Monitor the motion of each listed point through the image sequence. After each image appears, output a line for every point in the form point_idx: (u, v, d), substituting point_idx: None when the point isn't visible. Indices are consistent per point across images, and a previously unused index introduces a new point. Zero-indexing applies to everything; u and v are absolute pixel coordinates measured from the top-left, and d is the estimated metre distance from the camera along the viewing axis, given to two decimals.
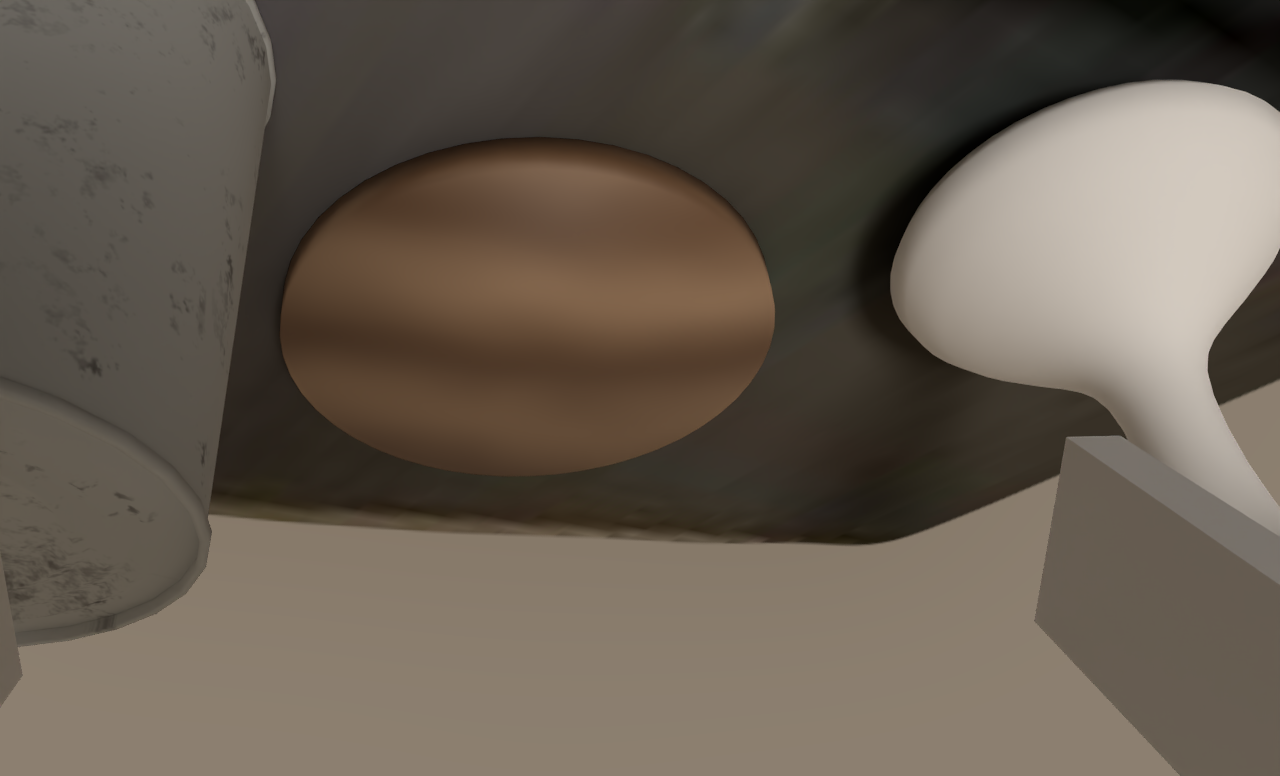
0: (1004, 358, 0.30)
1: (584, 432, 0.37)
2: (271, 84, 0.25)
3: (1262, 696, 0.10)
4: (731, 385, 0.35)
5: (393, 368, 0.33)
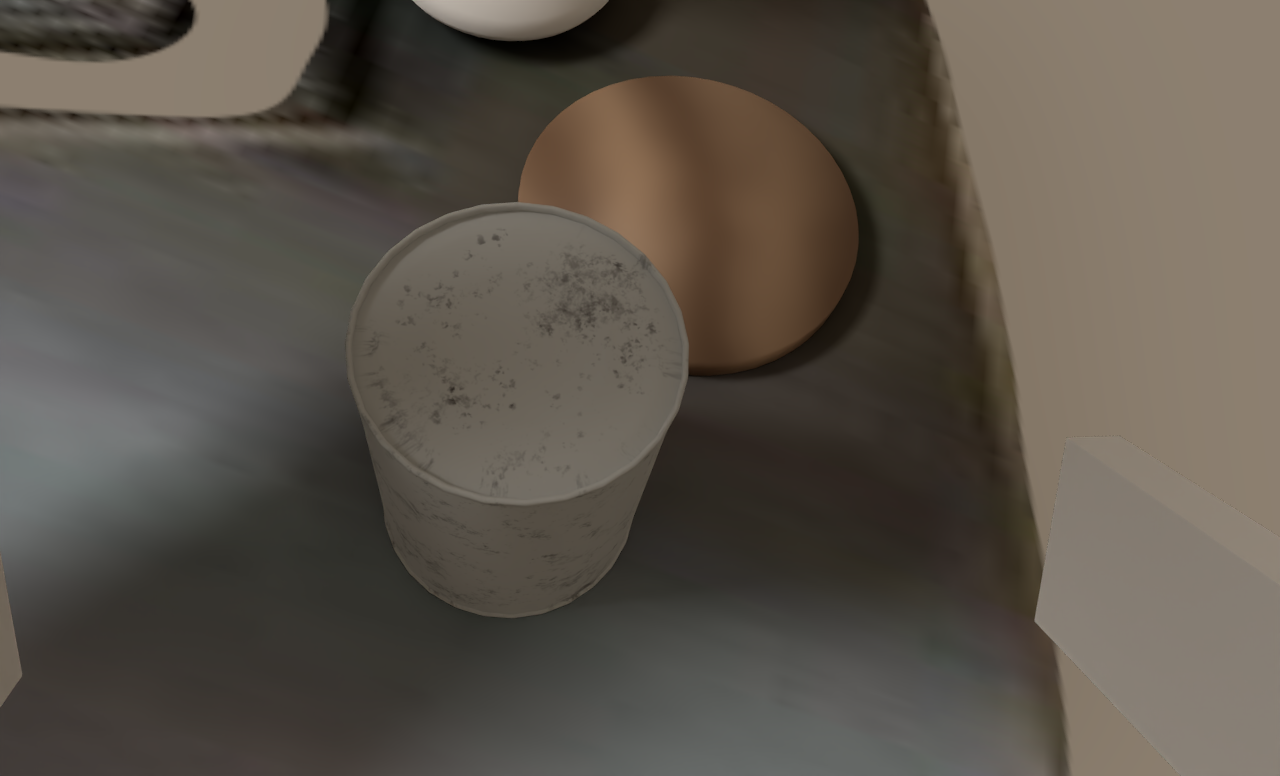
0: None
1: (780, 163, 0.48)
2: None
3: (1262, 696, 0.10)
4: (697, 87, 0.49)
5: (735, 291, 0.44)
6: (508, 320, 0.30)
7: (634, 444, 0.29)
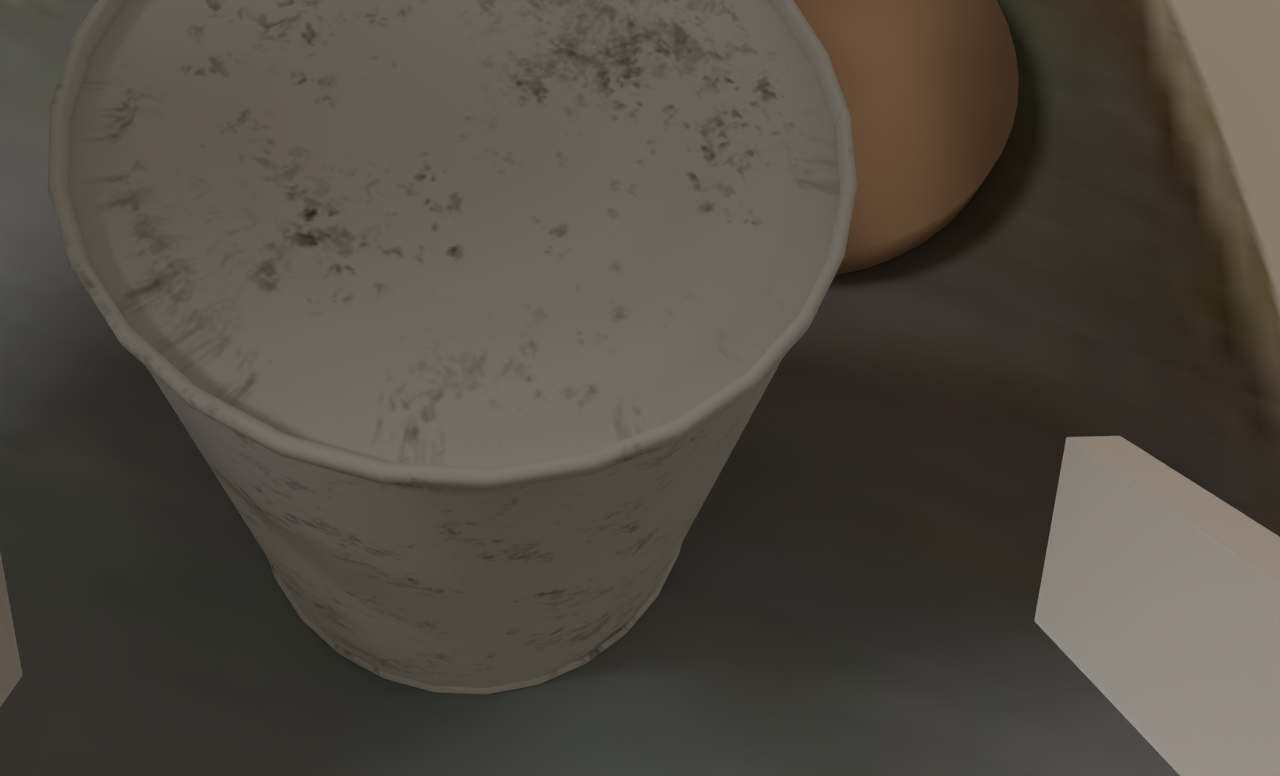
0: None
1: None
2: None
3: (1262, 696, 0.10)
4: None
5: None
6: (446, 70, 0.13)
7: (747, 335, 0.12)
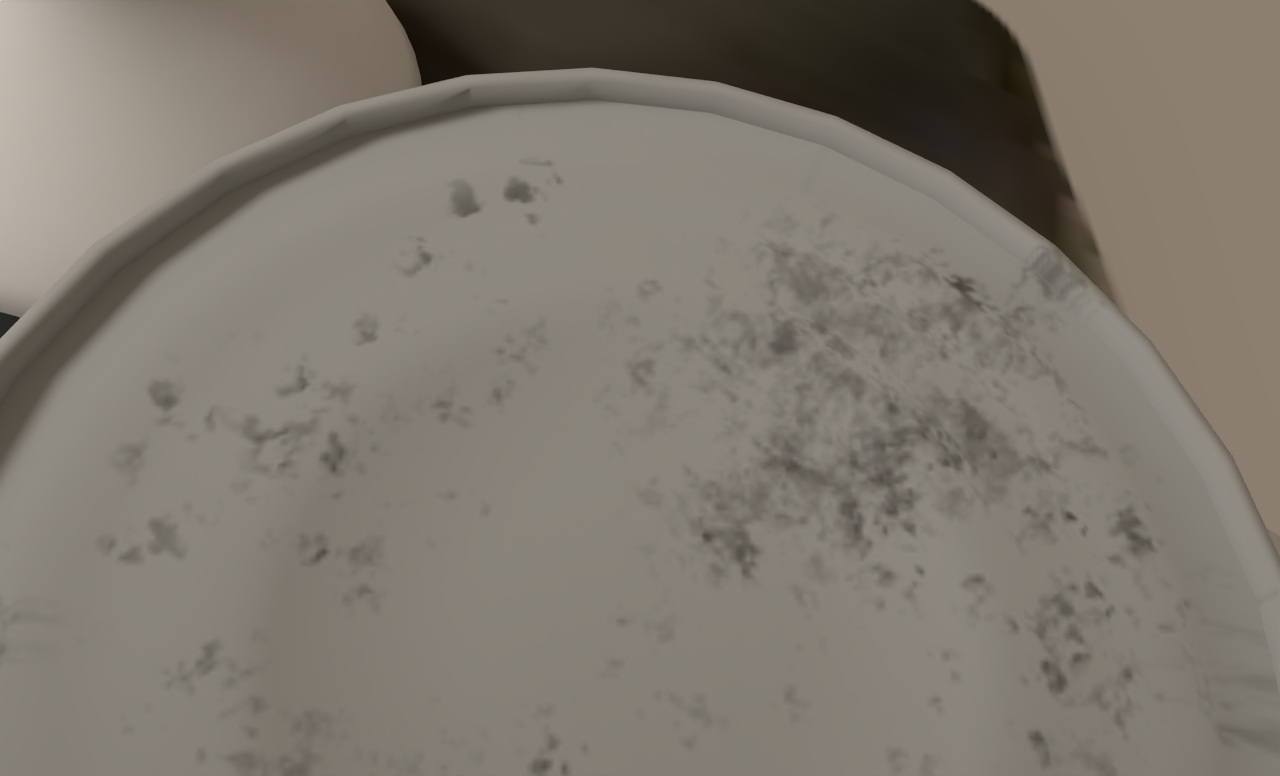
0: (214, 96, 0.19)
1: None
2: None
3: None
4: None
5: None
6: (578, 514, 0.07)
7: None
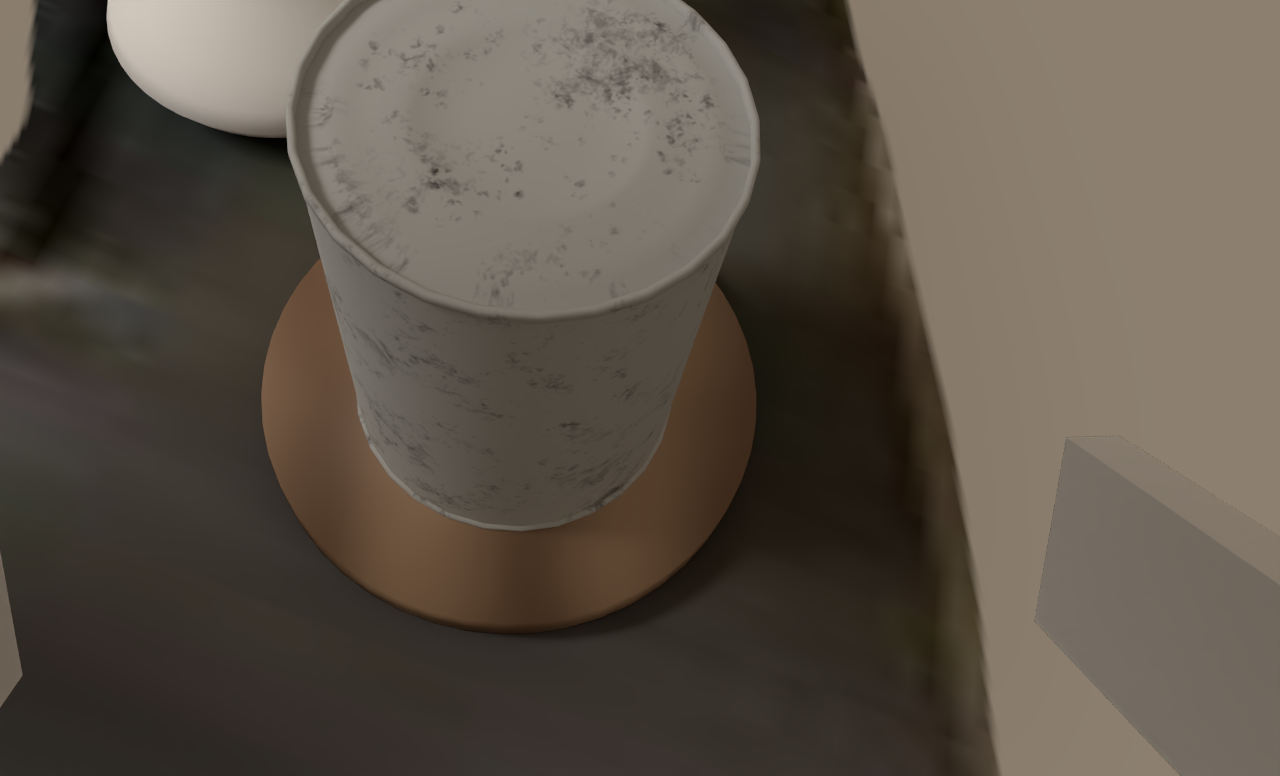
0: None
1: None
2: None
3: (1262, 696, 0.10)
4: None
5: None
6: (513, 88, 0.22)
7: (689, 245, 0.21)
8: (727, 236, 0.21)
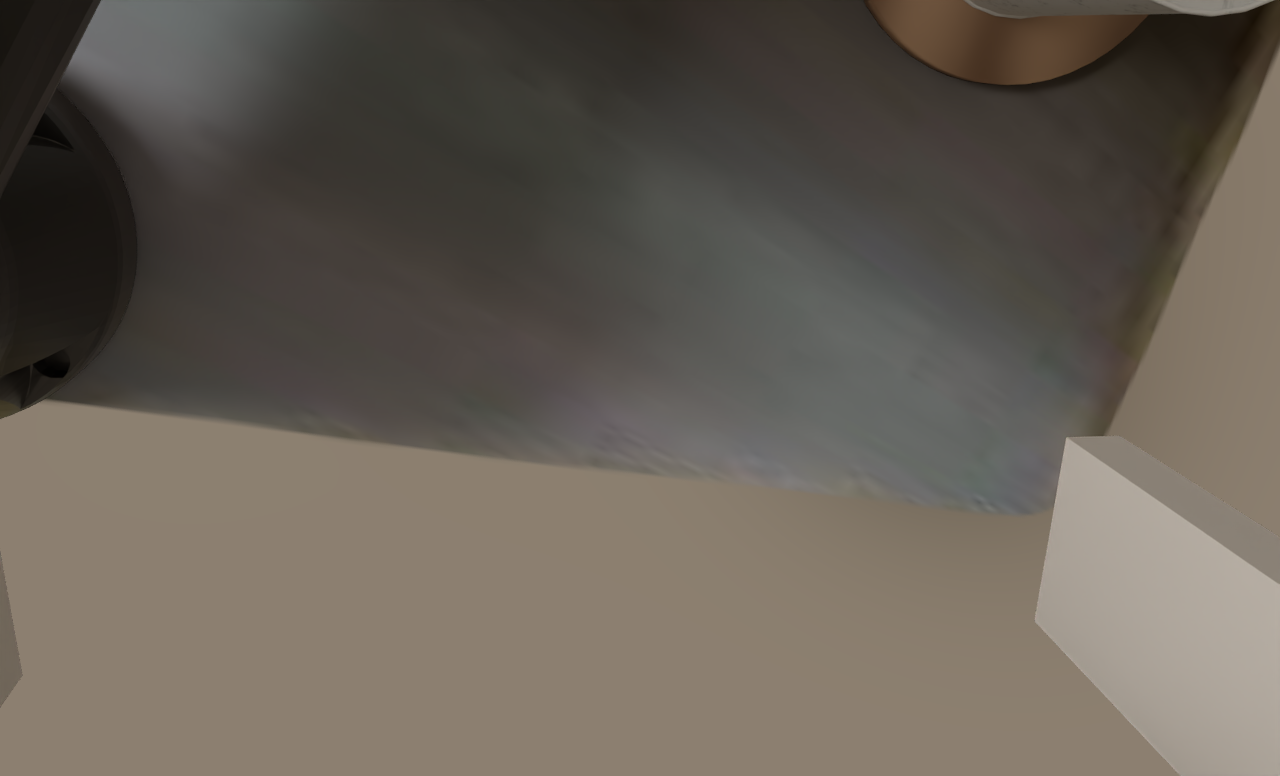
0: None
1: None
2: None
3: (1262, 696, 0.10)
4: None
5: None
6: None
7: None
8: None
